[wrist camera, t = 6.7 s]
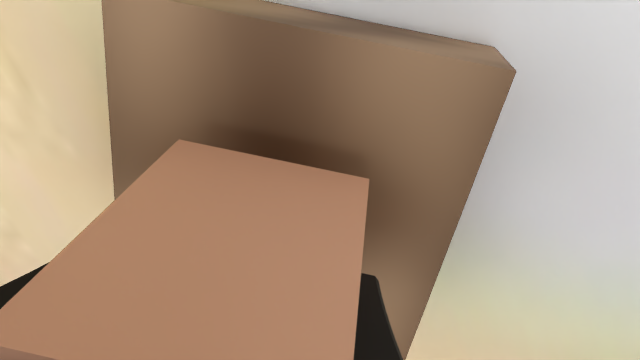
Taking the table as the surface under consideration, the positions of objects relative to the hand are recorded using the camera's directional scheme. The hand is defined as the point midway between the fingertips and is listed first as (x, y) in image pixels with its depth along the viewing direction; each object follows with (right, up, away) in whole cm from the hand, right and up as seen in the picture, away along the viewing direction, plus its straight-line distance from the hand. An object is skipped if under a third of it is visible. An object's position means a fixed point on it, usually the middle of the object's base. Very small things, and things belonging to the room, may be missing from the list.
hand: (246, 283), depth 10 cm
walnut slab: (+1, +3, +6) cm, 6 cm away
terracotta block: (0, +1, +1) cm, 2 cm away
